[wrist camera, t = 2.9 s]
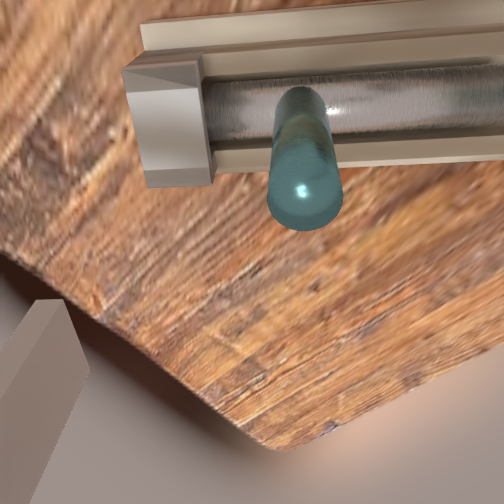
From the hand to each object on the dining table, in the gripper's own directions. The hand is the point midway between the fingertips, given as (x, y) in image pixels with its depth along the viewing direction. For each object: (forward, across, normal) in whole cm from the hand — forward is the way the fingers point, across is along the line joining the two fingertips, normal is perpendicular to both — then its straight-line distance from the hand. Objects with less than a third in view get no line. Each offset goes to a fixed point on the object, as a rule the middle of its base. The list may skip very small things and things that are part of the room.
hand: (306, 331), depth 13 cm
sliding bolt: (+21, +2, 0) cm, 21 cm away
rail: (+23, +5, 0) cm, 23 cm away
